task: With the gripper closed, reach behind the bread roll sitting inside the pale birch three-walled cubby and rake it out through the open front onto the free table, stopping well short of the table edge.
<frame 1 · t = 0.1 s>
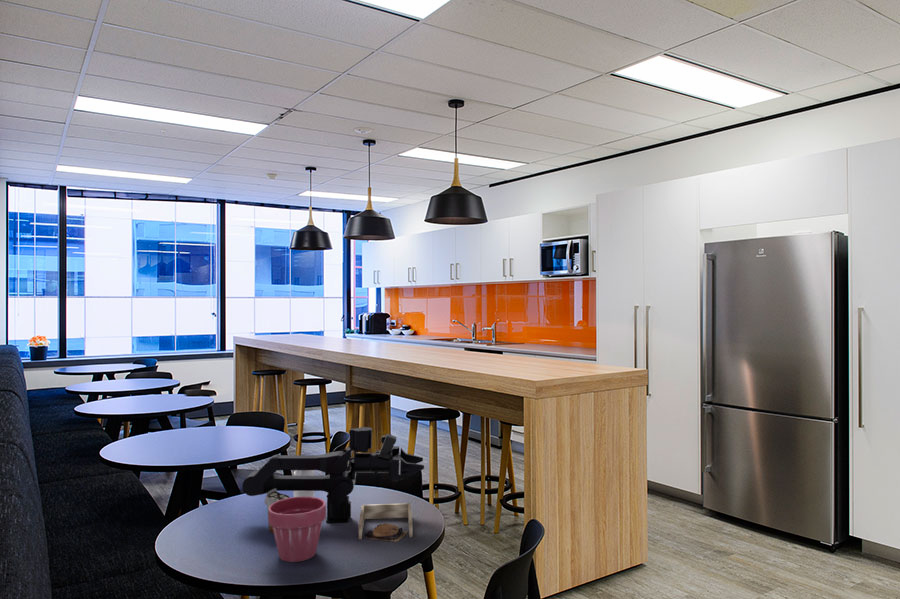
hand: (423, 463, 185), 16 cm above the table, tool horizontal, fingers open, 9 cm apart
bread roll: (385, 537, 169), on the table
can: (304, 506, 195), on the table
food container: (277, 531, 172), on the table, touching arm
plant pot: (297, 555, 156), on the table
cubby: (385, 530, 173), on the table
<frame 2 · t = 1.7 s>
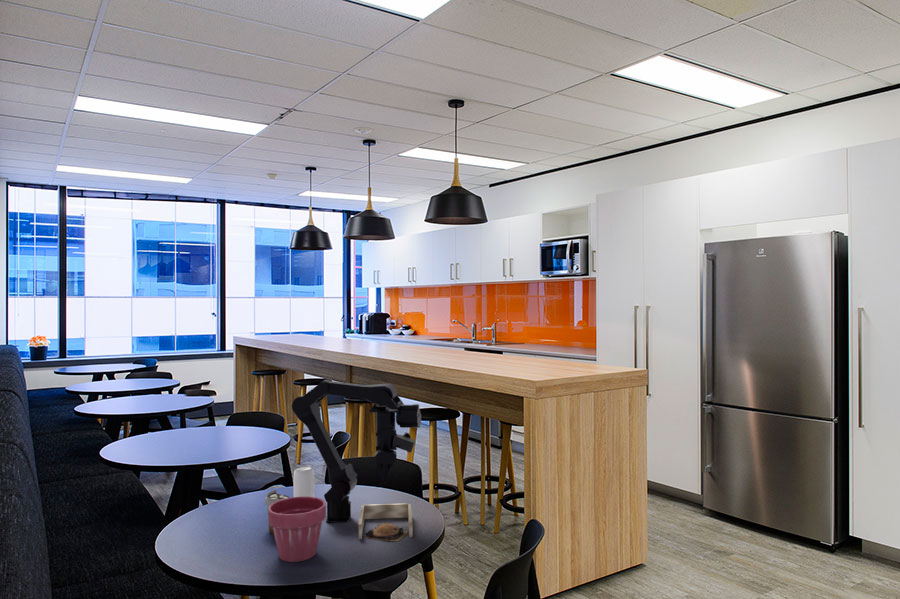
hand: (386, 480, 181), 12 cm above the table, tool pointing down, fingers open, 6 cm apart
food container: (277, 532, 172), on the table
everything else where it was.
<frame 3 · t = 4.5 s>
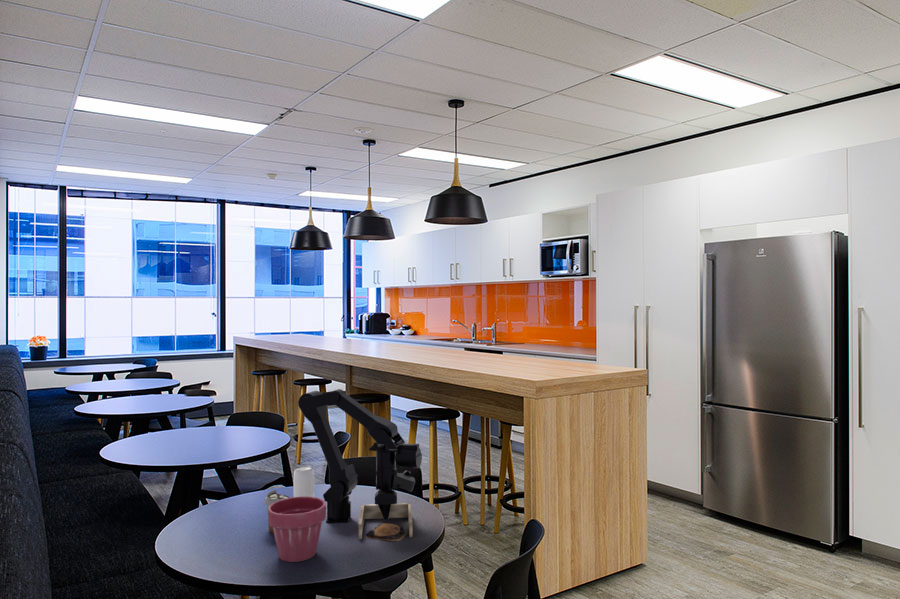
hand: (386, 519, 179), 1 cm above the table, tool pointing down, fingers closed
nothing on the table moved.
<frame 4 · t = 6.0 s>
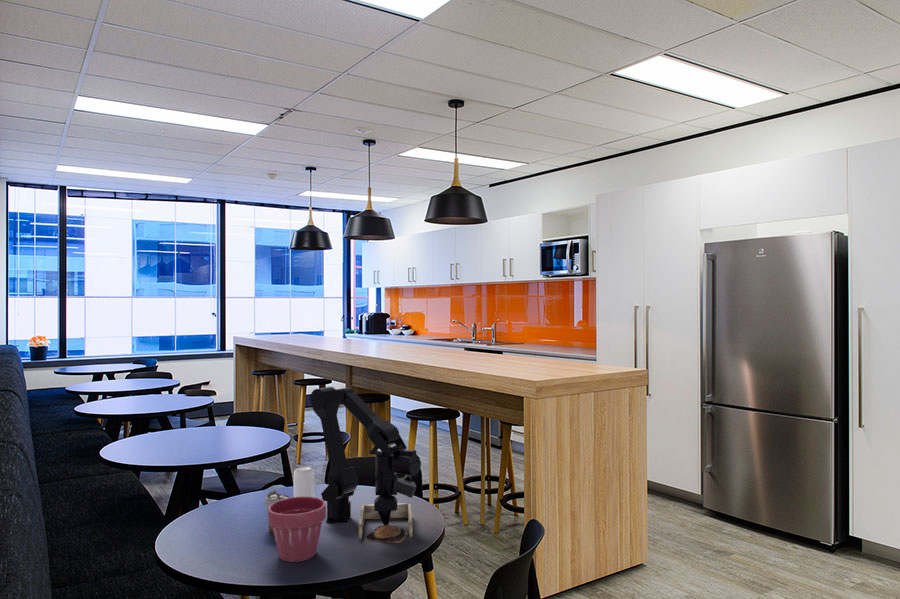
hand: (386, 526, 173), 1 cm above the table, tool pointing down, fingers closed
bread roll: (387, 539, 168), on the table, touching gripper
everything else where it was.
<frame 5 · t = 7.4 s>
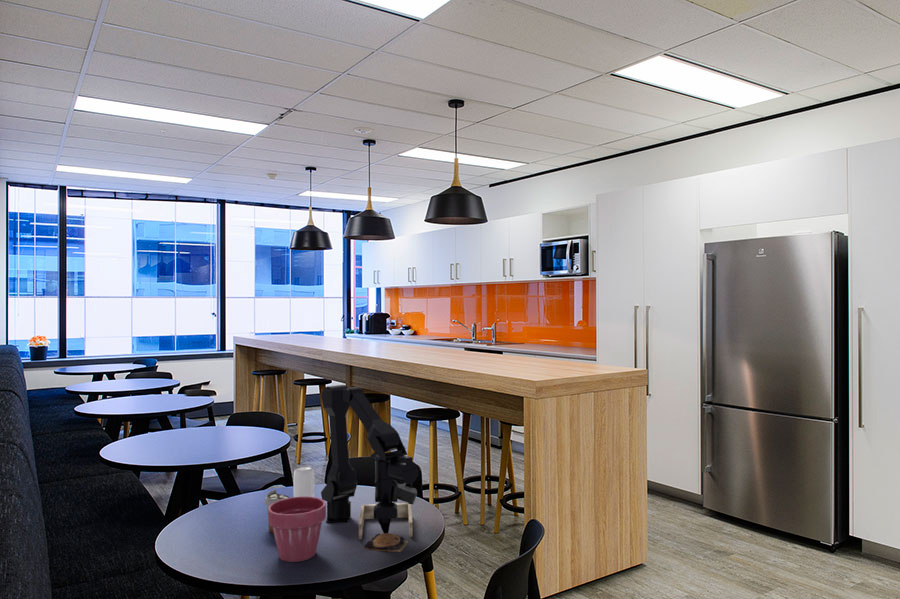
hand: (386, 533, 167), 1 cm above the table, tool pointing down, fingers closed
bread roll: (386, 547, 162), on the table, touching gripper
everything else where it was.
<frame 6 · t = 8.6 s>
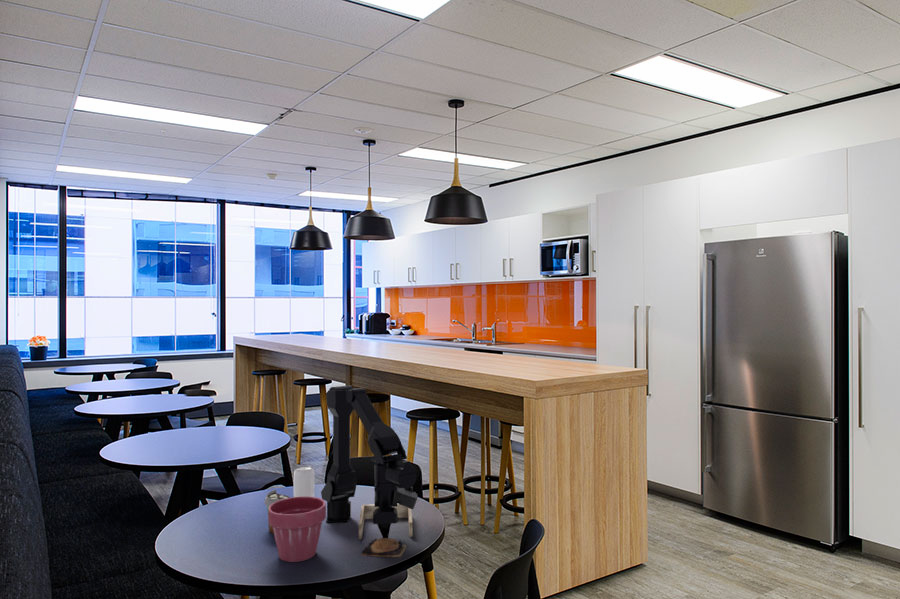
hand: (385, 539, 163), 1 cm above the table, tool pointing down, fingers closed
bread roll: (384, 553, 158), on the table
everything else where it was.
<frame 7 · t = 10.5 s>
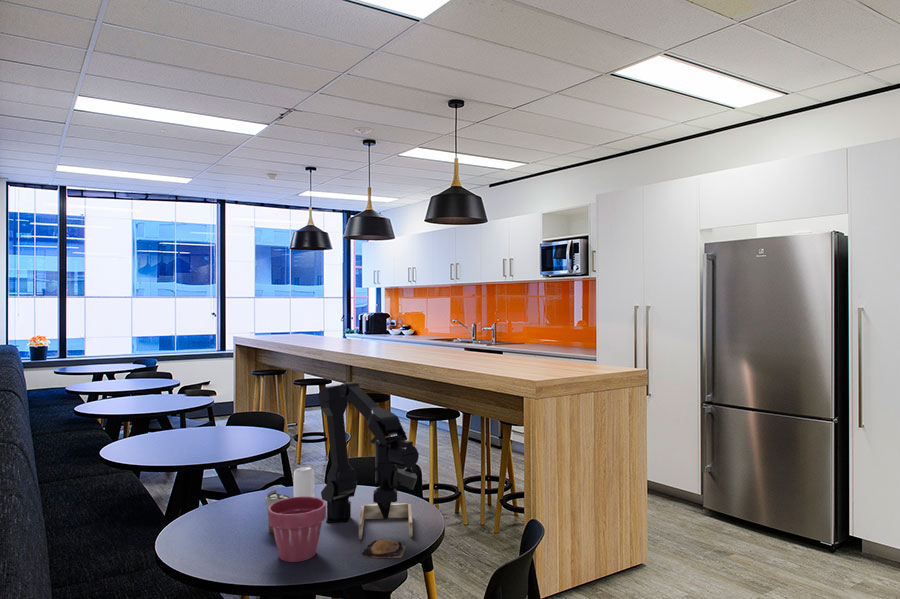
hand: (385, 518, 167), 5 cm above the table, tool pointing down, fingers closed
nothing on the table moved.
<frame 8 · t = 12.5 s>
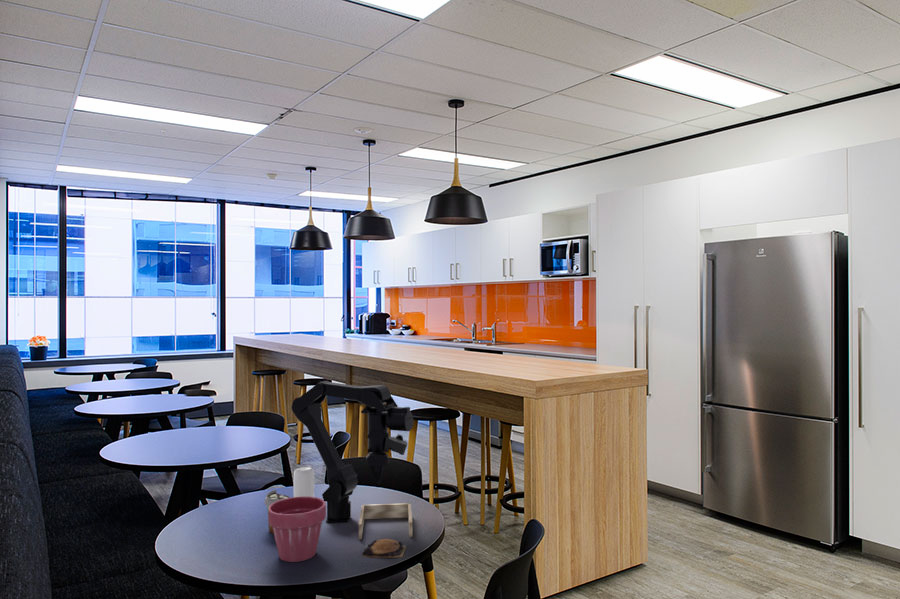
hand: (378, 482, 178), 12 cm above the table, tool pointing down, fingers closed
nothing on the table moved.
at the end: bread roll inside the target area (3.9 cm from its centre), on the table; bread roll touching table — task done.
